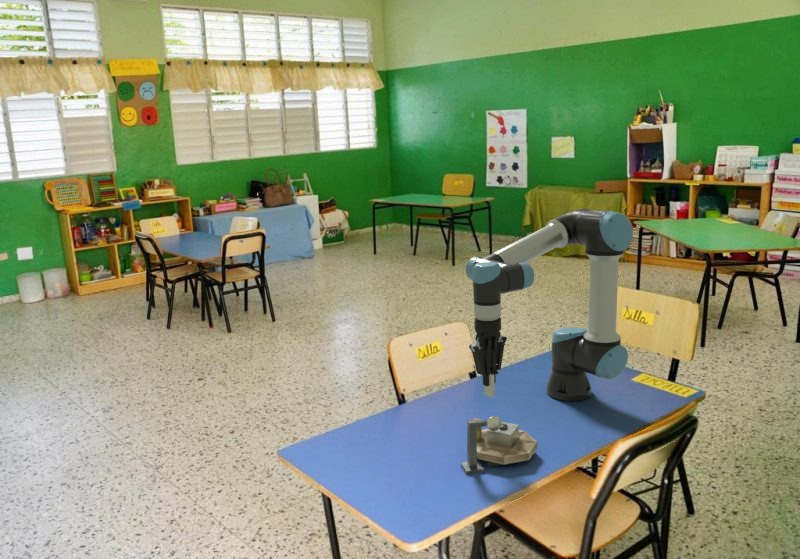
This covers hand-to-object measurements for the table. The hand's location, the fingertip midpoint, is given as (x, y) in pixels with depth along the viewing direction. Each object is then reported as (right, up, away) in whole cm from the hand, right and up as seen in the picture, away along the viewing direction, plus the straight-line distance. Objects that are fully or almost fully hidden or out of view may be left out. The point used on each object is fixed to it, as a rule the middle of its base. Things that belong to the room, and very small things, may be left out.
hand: (489, 395), depth 194 cm
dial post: (-3, -18, -10) cm, 21 cm away
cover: (+3, -12, -3) cm, 13 cm away
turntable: (+3, -15, -3) cm, 15 cm away
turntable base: (+3, -16, -3) cm, 17 cm away
